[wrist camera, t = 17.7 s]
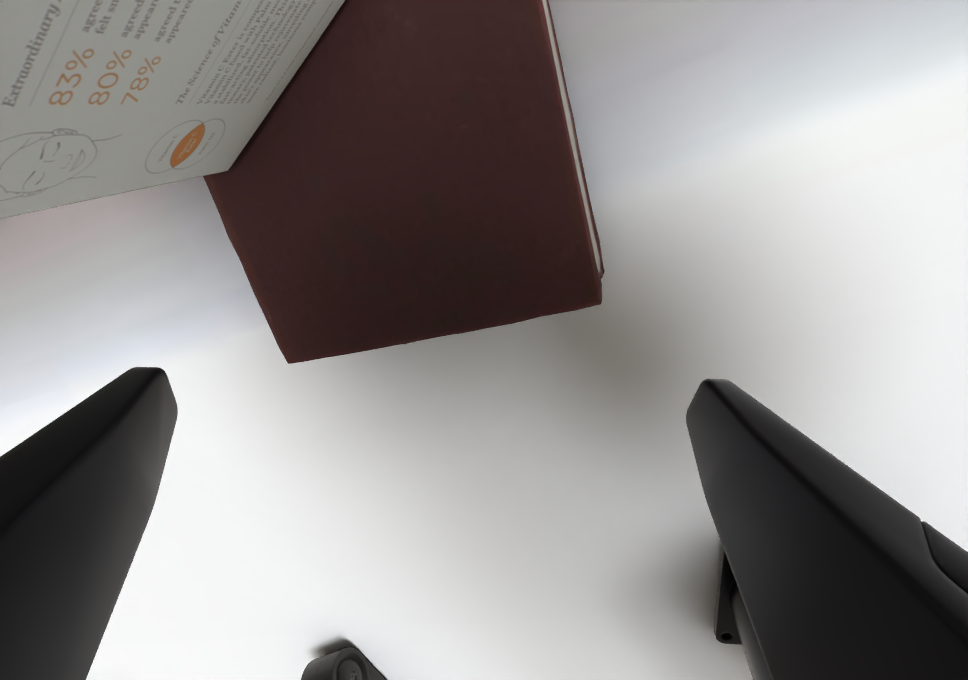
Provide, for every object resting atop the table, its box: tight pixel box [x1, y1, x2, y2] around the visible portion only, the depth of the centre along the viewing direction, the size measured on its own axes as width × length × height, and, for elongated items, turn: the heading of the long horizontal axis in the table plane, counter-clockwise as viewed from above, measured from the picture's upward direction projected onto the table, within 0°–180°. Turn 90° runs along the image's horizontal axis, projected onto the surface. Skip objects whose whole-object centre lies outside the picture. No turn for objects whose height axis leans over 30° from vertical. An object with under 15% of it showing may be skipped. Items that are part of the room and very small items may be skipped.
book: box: [203, 0, 604, 364], centre depth 17 cm, size 12×19×3 cm, turn 15°
